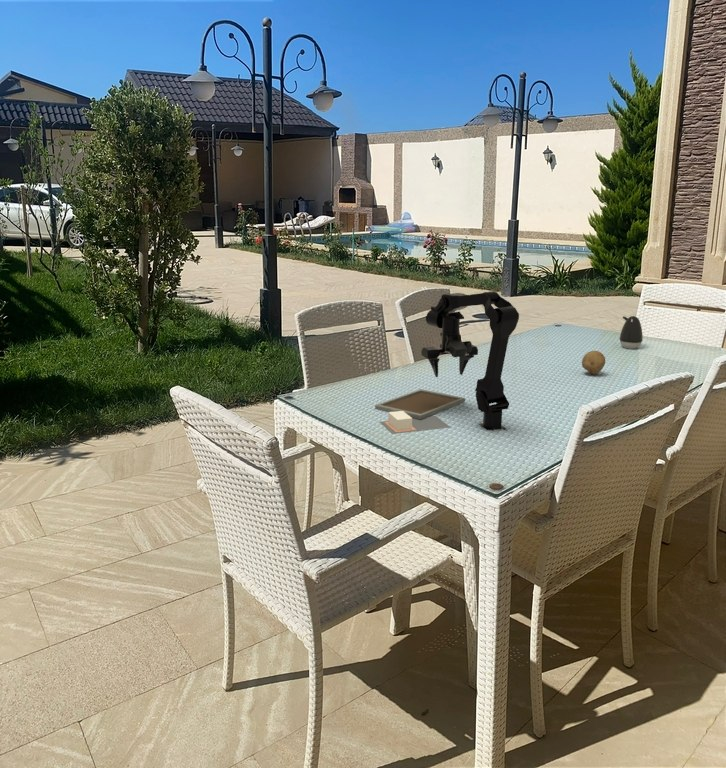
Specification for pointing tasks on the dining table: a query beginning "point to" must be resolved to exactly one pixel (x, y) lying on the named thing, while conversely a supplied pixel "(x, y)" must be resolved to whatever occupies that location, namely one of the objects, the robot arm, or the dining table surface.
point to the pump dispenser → (631, 333)
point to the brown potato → (593, 362)
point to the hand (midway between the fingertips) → (448, 375)
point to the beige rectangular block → (400, 420)
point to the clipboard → (420, 403)
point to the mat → (419, 425)
